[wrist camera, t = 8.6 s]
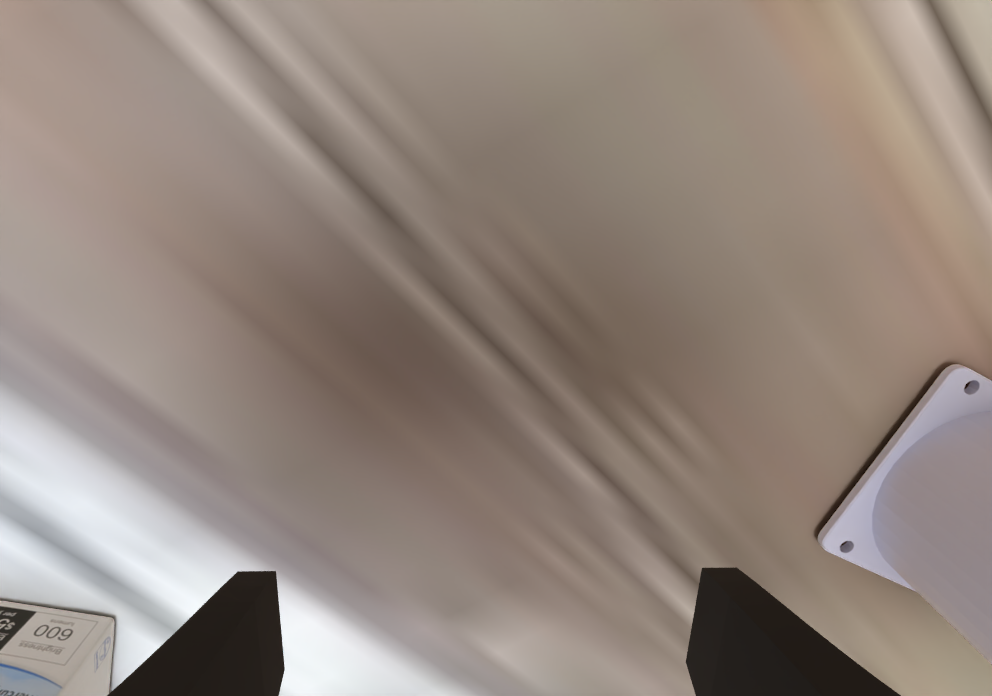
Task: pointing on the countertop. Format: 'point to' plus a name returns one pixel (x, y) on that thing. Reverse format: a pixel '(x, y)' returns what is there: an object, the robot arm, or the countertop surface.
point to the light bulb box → (54, 652)
